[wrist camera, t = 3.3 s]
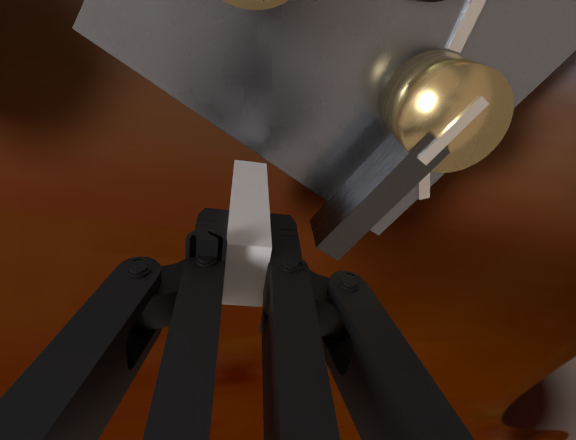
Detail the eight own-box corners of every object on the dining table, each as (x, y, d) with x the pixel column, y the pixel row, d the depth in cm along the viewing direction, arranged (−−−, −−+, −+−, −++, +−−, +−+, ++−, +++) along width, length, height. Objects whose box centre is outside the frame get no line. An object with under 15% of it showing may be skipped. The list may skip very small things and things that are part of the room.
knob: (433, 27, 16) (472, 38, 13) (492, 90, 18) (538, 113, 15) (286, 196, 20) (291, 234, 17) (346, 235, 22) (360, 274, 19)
